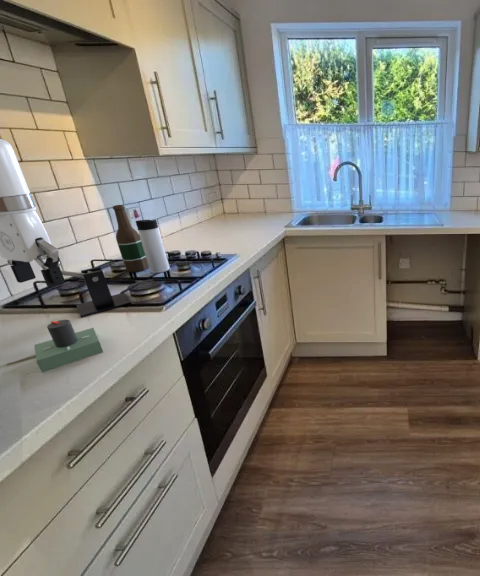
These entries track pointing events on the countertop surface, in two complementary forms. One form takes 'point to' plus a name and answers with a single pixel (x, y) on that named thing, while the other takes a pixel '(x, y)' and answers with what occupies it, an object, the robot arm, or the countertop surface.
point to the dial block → (67, 350)
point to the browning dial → (62, 333)
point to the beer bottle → (129, 242)
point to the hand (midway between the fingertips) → (41, 282)
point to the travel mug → (153, 246)
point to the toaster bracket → (99, 294)
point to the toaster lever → (74, 273)
